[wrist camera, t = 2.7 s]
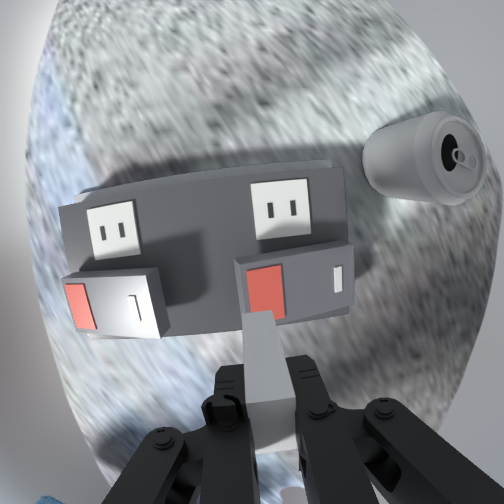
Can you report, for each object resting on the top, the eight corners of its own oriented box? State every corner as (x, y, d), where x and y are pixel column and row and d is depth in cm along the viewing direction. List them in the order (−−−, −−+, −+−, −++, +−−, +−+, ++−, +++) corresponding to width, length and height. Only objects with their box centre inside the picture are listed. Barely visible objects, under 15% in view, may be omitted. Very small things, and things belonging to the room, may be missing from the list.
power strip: (337, 302, 31) (355, 324, 25) (106, 327, 30) (87, 349, 25) (328, 159, 27) (348, 154, 22) (78, 194, 27) (50, 197, 21)
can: (364, 119, 27) (431, 90, 15) (420, 142, 27) (495, 131, 16) (352, 187, 28) (420, 191, 16) (410, 205, 29) (486, 219, 17)
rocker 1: (170, 326, 22) (159, 339, 20) (88, 322, 24) (75, 332, 22) (158, 267, 21) (144, 276, 19) (75, 271, 23) (59, 279, 21)
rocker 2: (341, 296, 25) (355, 304, 23) (241, 320, 23) (248, 332, 21) (340, 240, 24) (354, 244, 22) (233, 258, 22) (239, 265, 19)
